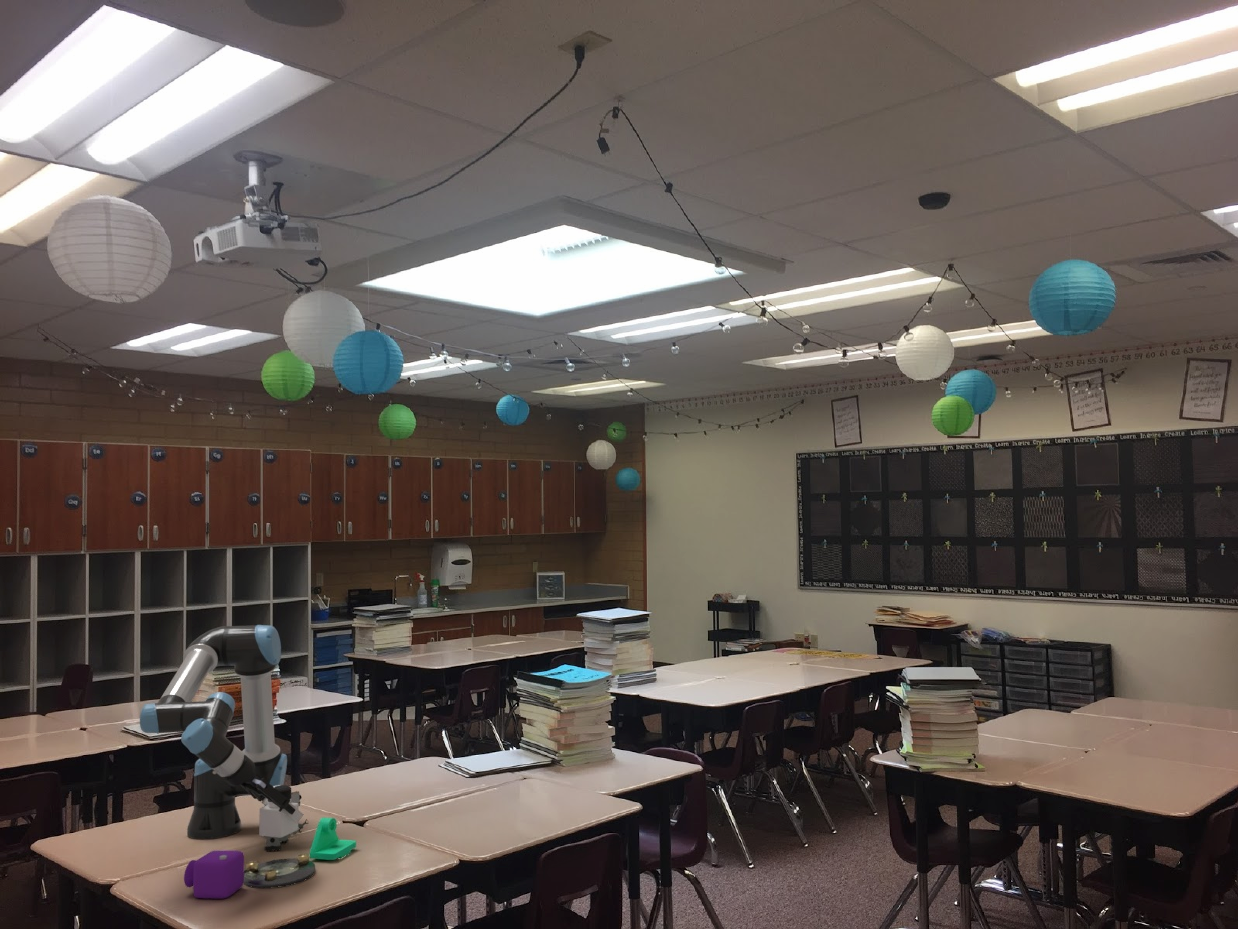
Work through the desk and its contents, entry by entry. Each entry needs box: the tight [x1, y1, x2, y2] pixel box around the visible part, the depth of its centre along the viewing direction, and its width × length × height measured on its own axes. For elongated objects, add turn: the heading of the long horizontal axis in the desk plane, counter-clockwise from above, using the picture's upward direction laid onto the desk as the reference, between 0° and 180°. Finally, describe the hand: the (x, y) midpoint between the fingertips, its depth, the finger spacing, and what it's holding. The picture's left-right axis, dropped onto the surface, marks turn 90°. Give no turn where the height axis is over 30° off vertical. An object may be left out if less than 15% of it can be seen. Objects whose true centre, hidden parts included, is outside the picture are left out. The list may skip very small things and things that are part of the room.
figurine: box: [262, 790, 309, 852], centre depth 276 cm, size 9×12×15 cm
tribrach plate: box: [243, 853, 316, 889], centre depth 251 cm, size 18×18×4 cm
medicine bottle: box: [258, 784, 299, 838], centre depth 252 cm, size 7×7×12 cm
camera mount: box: [309, 817, 357, 861], centre depth 267 cm, size 12×8×10 cm, turn 164°
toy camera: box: [183, 850, 245, 900], centre depth 240 cm, size 11×14×10 cm
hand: (290, 815), depth 255 cm, fingers closed on medicine bottle, 9 cm apart
